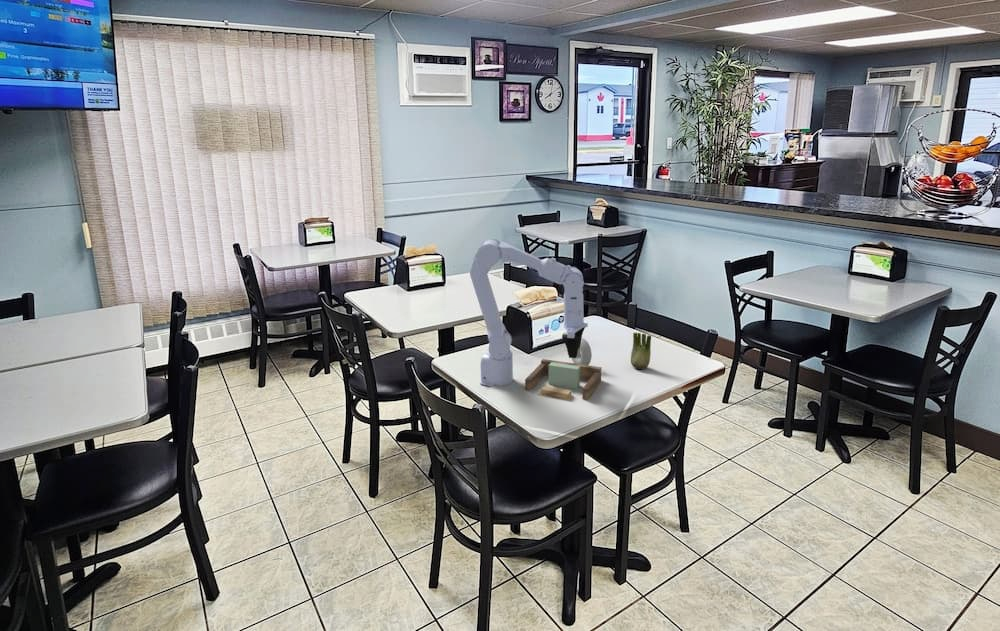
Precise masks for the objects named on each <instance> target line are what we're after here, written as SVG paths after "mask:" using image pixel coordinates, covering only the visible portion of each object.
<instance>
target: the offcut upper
mask: <svg viewBox="0 0 1000 631" xmlns="http://www.w3.org/2000/svg"><path fill="white" fill-rule="evenodd" d="M540 391H541V394H544V395H549V396H554V397H560V398H565V399H564V400H566V399H568V398H569V397H570V396H571V395H572V390H570V389H566V388H565V389H564V388H559V387H556V386H555V387H554V386H549V385H543V386H542V387H541V388H540ZM554 397H553V398H554ZM560 398H559V399H560Z"/></svg>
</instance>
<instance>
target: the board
mask: <svg viewBox="0 0 1000 631" xmlns="http://www.w3.org/2000/svg"><path fill="white" fill-rule="evenodd" d="M580 383H581V379H580V366H574V365H567V364H560V363H553V362H551V363H550V364H549V374H548V385H552V386H557V387H564V388H569V389H576V390H577V389H579V387H580V385H581V384H580Z"/></svg>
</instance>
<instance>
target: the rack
mask: <svg viewBox="0 0 1000 631" xmlns="http://www.w3.org/2000/svg"><path fill="white" fill-rule="evenodd" d="M551 362H553V363H560V364H567V365H574V366H580V381H582V380H583V381H587V382H586V383H585V385H584V386H583V388H582V400H584V401H585V400H586V401H589V399H590V398H591V396H592V395H593V394H594V392H595V390H597V388H598V386H599V385H600V383H601V381H602V372H603V371H602V368H603V367H602V366H595V365H590V364H589V365H582V364H575V363H574V362H567V361H560V360H552V359H545V358H542V359H541V361H540V364H539V365H537V367H536V368H535V369H534V370H533V371H532V372H531V373H530V374H528V376H527V377H526V378H525V380H524V385H525V387H524V388H525V389H524V390H525V391H531V390H533V388H534V387H535V386H536V385H537V384H538V383H539V382H540V380H541V379H542V378H544V376H545V375H549V364H550V363H551Z"/></svg>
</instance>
